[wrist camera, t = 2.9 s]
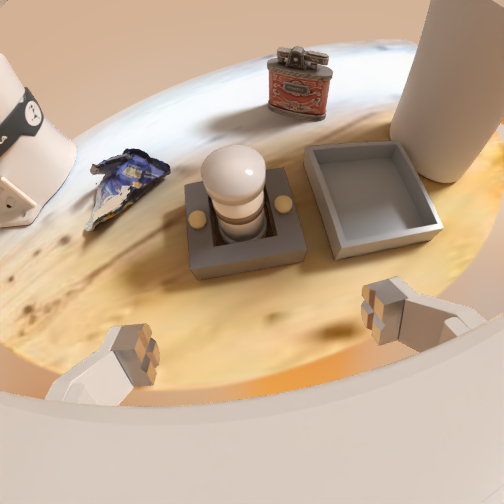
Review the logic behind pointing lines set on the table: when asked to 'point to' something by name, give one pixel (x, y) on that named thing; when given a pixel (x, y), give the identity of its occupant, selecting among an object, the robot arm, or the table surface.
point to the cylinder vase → (453, 88)
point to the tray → (369, 197)
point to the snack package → (125, 179)
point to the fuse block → (248, 252)
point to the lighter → (299, 83)
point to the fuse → (237, 192)
